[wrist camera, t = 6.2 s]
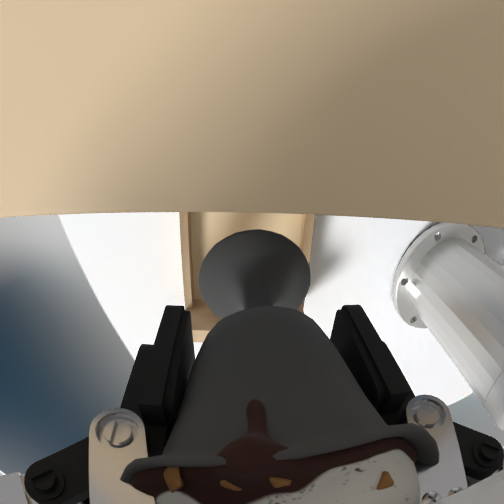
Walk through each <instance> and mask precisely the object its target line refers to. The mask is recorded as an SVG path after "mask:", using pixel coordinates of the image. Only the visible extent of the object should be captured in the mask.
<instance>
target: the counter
mask: <svg viewBox="0 0 504 504" xmlns="http://www.w3.org/2000/svg"><path fill="white" fill-rule="evenodd" d="M121 212H243V213H283V214H312V215H335V216H355V217H373V218H389V219H404V220H418V221H431V222H443V223H455V224H466V225H477V226H487V227H496V228H504V0H0V217H16V216H35V215H56V214H83V213H121Z"/></svg>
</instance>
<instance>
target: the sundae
mask: <svg viewBox="0 0 504 504" xmlns="http://www.w3.org/2000/svg"><path fill="white" fill-rule="evenodd" d="M198 282H199V288H200V292H201V295H202V298H203V300H204V302H205V303H206V304H207V306H208V307H209V308H210V310H211V311H212V312H213V313H214V314H215V315H216V316H218V317H219V318H221V319H222V320H220V321H219V322H218V323H217V324H216V325H215V326H214V327H213V328H212V329H211V331H210V332H209V333H208V334H207V336H206V338H205V340H204V342H203V344H202V346H201V349H200V351H199V353H198V355H197V357H196V359H195V362H194V364H193V366H192V369H191V372H190V375H189V379H188V382H187V385H186V388H185V392H184V395H183V398H182V401H181V405H180V408H179V411H178V415H177V420H176V422H175V424H174V426H173V429H172V431H171V434H170V436H169V439H168V441H167V443H166V446H165V448H164V451H163V453H162V455H159V456H153V457H146V458H139V459H135V460H133V461H132V462H131V463H129V464H128V465H127V466H126V468H125V469H124V471H123V474H122V476H121V478H120V480H121V481H122V482H129V481H131V485H132V486H133V487H134V488H135V489H137V490H138V491H140V492H142V493H145V494H147V495H149V496H152V497H154V499H155V502H156V504H420V483H419V479H418V475H417V471H416V468H415V465H414V464H415V462H416V460H418V461H420V462H423V463H425V464H428V465H429V464H438V463H439V450H438V446H437V442H436V440H435V439H434V438H433V437H432V436H431V435H430V434H429V433H428V431H427V430H426V429H425V428H424V427H422V426H419V425H416V424H414V423H408V424H399V425H389V426H387V424H386V423H385V421H384V420H383V419H382V417H381V416H380V415H379V413H378V412H377V411H376V409H375V408H374V407H373V405H372V404H371V403H370V401H369V400H368V399H367V397H366V396H365V394H364V392H363V391H362V389H361V387H360V386H359V384H358V383H357V381H356V379H355V378H354V376H353V374H352V373H351V371H350V369H349V368H348V366H347V365H346V363H345V361H344V360H343V358H342V356H341V355H340V353H339V352H338V350H337V348H336V347H335V345H334V344H333V343H332V342H331V341H330V339H329V338H328V337H327V336H326V334H325V333H324V332H323V331H322V330H321V328H320V327H319V326H318V325H317V324H316V322H315V321H314V320H313V319H311V318H310V317H308V316H306V315H305V314H303V313H302V312H300V311H298V310H297V309H298V307H299V306H300V305H301V304H302V303H303V301H304V299H305V297H306V294H307V292H308V289H309V286H310V268H309V264H308V261H307V259H306V257H305V255H304V254H303V252H302V250H301V249H300V247H298V246H297V245H296V244H295V243H294V242H293V241H291V240H290V239H288V238H287V237H285V236H284V235H282V234H278V233H275V232H272V231H267V230H261V229H256V230H246V231H241V232H236V233H234V234H232V235H230V236H228V237H226V238H224V239H222V240H221V241H219V242H218V243H216V244H215V245H214V246H213V248H212V249H211V250H210V251H209V252H208V254H207V255H206V257H205V258H204V260H203V261H202V265H201V268H200V272H199V279H198Z"/></svg>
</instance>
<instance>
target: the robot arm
mask: <svg viewBox="0 0 504 504" xmlns="http://www.w3.org/2000/svg"><path fill="white" fill-rule="evenodd" d="M392 296H393V303H394V306H395V309H396V310H397V312H398V314H399V315H400V317H401V318H402V319H403V320H404V321H405V322H406V323H407V324H409V325H411V326H413V327H416V328H428V329H429V330H430V332H431V333H432V334H433V336H434V337H435V338H436V340H437V341H438V342H439V344H440V345H441V346H442V348H443V349H444V350H445V352H446V353H447V355H448V356H449V357H450V359H451V360H452V361H453V363H454V364H455V366H456V367H457V368H458V370H459V371H460V373H461V374H462V376H463V377H464V378H465V380H466V381H467V383H468V384H469V386H470V387H471V389H472V390H473V392H474V393H475V394H476V396H477V397H478V399H479V401H480V402H481V404H482V405H483V407H484V408H485V410H486V411H487V413H488V414H489V416H490V417H491V419H492V421H493V422H494V423H495V424H496V425H497V426H498V427H499V428H500V429H502V430H503V431H504V268H503V267H502V266H501V265H499V264H498V263H497V262H495V261H494V260H492V259H491V258H490V257H488V256H487V255H486V254H485V248H484V244H483V241H482V239H481V237H480V235H479V234H478V233H477V231H476V230H475V229H474V228H472V227H470V226H469V225H466V224H455V223H443V222H441V223H439V224H436V225H434V226H432V227H431V228H429V229H428V230H426V231H425V232H423V233H422V234H421V235H420V236H419V237H418V238H417V239H416V240H415V241H414V242H413V243H412V244H411V246H410V247H409V248H408V249H407V251H406V253H405V254H404V256H403V257H402V259H401V261H400V263H399V265H398V268H397V270H396V273H395V277H394V280H393V288H392ZM330 341H331V342H332V343H333V344H334V345H335V347H336V348H337V350H338V352H339V353H340V355H341V356H342V358H343V360H344V361H345V363H346V365H347V366H348V368H349V369H350V371H351V373H352V374H353V376H354V378H355V379H356V381H357V383H358V384H359V386H360V387H361V389H362V391H363V392H364V394H365V396H366V397H367V399H368V400H369V401H370V403H371V404H372V405H373V407H374V408H375V409H376V411H377V412H378V413H379V415H380V416H381V417H382V419H383V420H384V421H385V423H386V424H387V426H389V425H399V424H408V423H414V424H416V425H419V426H422V427H424V428H425V429H426V430H427V431H428V433H429V434H430V435H431V436H432V437H433V438H434V439H435V440H436V442H437V446H438V450H439V463H438V464H429V465H428V464H425V463H423V462H420V461H418V460H416V462H415V464H414V465H415V468H416V471H417V475H418V479H419V483H420V504H504V446H503V447H502V446H501V445H500V443H499V442H498V441H497V440H496V439H494V438H493V437H490V436H488V435H485V434H483V433H480V432H477V431H475V430H472V429H470V428H467V427H465V426H462V425H460V424H457V423H455V422H453V421H452V418H451V414H450V411H449V409H448V407H447V406H446V404H445V403H444V402H443V401H441V400H440V399H438V398H437V397H434V396H431V395H419V396H416V397H415V395H414V393H413V392H412V390H411V388H410V386H409V384H408V382H407V381H406V379H405V377H404V375H403V373H402V372H401V370H400V368H399V366H398V364H397V363H396V361H395V359H394V357H393V356H392V354H391V352H390V350H389V349H388V347H387V345H386V344H385V343H384V342H383V341H381V339H380V337H379V335H378V334H377V332H376V330H375V329H374V327H373V325H372V323H371V322H370V320H369V318H368V317H367V315H366V313H365V312H364V310H363V308H362V307H361V306H360V305H344V306H343V307H342V309H341V310H337V312H336V316H335V321H334V325H333V329H332V334H331V338H330ZM194 362H195V354H194V344H193V334H192V323H191V312H190V311H185V309H184V306H171V305H167V306H166V307H165V310H164V313H163V317H162V320H161V323H160V326H159V330H158V333H157V336H156V339H155V343H154V345H148V344H142V345H141V346H140V348H139V351H138V354H137V357H136V360H135V363H134V366H133V369H132V372H131V375H130V378H129V381H128V384H127V387H126V391H125V394H124V397H123V400H122V404H121V407H120V408H114V409H108V410H106V411H104V412H101V413H100V414H99V415H98V416H96V417H95V418H94V420H93V421H92V423H91V426H90V430H89V437H87V438H85V439H83V440H81V441H79V442H77V443H75V444H73V445H71V446H69V447H67V448H65V449H63V450H61V451H59V452H56V453H54V454H52V455H50V456H48V457H46V458H44V459H41V460H39V461H37V462H35V463H34V464H32V465H31V466H30V467H29V468H28V469H27V471H26V474H22V475H21V474H20V473H19V472H16V473H12V474H7V475H3V476H0V504H156V502H155V499H154V497H152V496H149V495H147V494H145V493H142V492H140V491H138V490H137V489H135V488H134V487H133V486H132V485H131V481H129V482H122V481H121V480H120V478H121V476H122V474H123V471H124V469H125V468H126V466H127V465H128V464H129V463H131V462H132V461H133V460H135V459H139V458H146V457H153V456H159V455H162V453H163V451H164V448H165V446H166V443H167V441H168V439H169V436H170V434H171V431H172V429H173V426H174V424H175V422H176V420H177V415H178V411H179V408H180V405H181V401H182V398H183V395H184V392H185V388H186V385H187V382H188V379H189V375H190V372H191V369H192V366H193V364H194Z"/></svg>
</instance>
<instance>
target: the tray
mask: <svg viewBox="0 0 504 504" xmlns="http://www.w3.org/2000/svg"><path fill="white" fill-rule="evenodd" d="M314 220H315V215H312V214H283V213H243V212H180V235H181V254H182V270H183V284H184V296H185V308H186V310H185V311H190V312H191V323H192V334H193V342H204V340H205V338H206V336H207V334H208V333H209V332H210V331H211V329H212V328H213V327H214V326H215V325H216V324H217V323H218V322H219V321H220V320H222V319H221V318H219V317H218V316H216V315H215V314H214V313H213V312H212V311H211V310H210V308H209V307H208V306H207V304H206V303H205V302H204V300H203V298H202V295H201V292H200V288H199V282H198V279H199V272H200V268H201V265H202V261H203V260H204V258H205V257H206V255H207V254H208V252H209V251H210V250H211V249H212V248H213V246H214V245H215V244H216V243H218V242H219V241H221V240H222V239H224V238H226V237H228V236H230V235H232V234H234V233H236V232H241V231H246V230H256V229H261V230H267V231H272V232H275V233H278V234H282V235H284V236H285V237H287V238H288V239H290V240H291V241H293V242H294V243H295V244H296V245H297V246H298V247H300V249H301V250H302V252H303V254H304V255H305V257H306V259H307V261H308V264H309V263H310V255H311V246H312V238H313V229H314ZM304 300H305V299H304ZM303 306H304V301H303V303H302V304H301V305H300V306H299V307H298V309H297V310H298V311H300V312H302V313H303V314H304V312H303Z"/></svg>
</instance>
